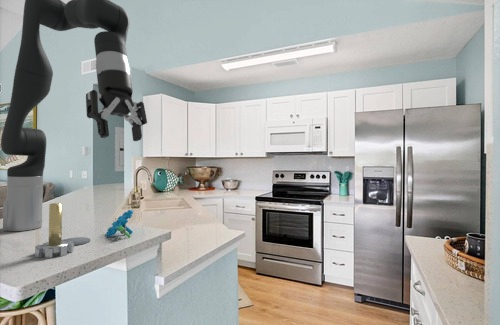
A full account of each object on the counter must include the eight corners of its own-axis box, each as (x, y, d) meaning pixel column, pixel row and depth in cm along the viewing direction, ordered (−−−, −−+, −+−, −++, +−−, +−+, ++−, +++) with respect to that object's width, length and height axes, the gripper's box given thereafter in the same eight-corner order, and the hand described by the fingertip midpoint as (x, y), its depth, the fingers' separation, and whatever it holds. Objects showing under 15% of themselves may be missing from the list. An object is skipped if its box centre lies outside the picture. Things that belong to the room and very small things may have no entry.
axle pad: (51, 247, 71) (51, 246, 71) (62, 239, 79) (62, 238, 79) (86, 245, 74) (86, 244, 74) (93, 237, 82) (93, 236, 82)
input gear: (28, 259, 63) (29, 206, 63) (42, 249, 70) (43, 202, 70) (67, 256, 65) (68, 205, 65) (77, 247, 72) (78, 201, 72)
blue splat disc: (105, 226, 88) (129, 204, 90) (119, 238, 90) (143, 216, 92) (102, 240, 78) (130, 215, 80) (118, 252, 80) (145, 227, 83)
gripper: (129, 88, 76) (137, 145, 74) (75, 72, 64) (82, 140, 61) (148, 78, 72) (156, 137, 70) (94, 59, 60) (102, 131, 58)
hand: (121, 139), depth 66 cm, fingers open, 8 cm apart
